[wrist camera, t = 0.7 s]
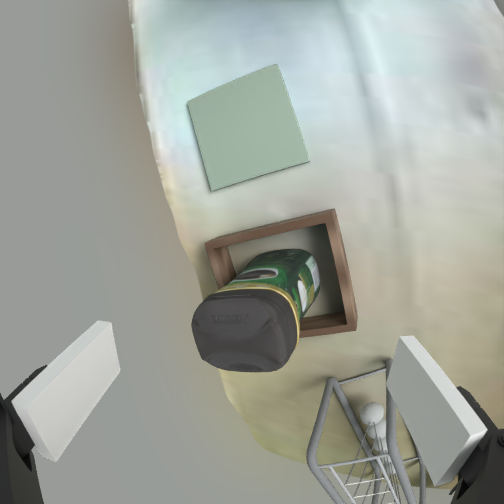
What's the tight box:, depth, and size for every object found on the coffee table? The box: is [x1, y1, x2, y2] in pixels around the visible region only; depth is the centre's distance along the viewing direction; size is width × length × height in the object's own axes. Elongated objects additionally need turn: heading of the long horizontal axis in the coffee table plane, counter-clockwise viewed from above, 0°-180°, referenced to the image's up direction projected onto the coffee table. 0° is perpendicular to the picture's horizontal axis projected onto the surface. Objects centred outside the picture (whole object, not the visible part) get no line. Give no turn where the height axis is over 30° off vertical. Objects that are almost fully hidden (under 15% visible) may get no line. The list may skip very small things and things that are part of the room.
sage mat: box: [187, 64, 310, 191], centre depth 38 cm, size 14×14×1 cm
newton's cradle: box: [306, 359, 426, 504], centre depth 33 cm, size 30×10×18 cm, turn 30°
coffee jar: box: [191, 249, 320, 372], centre depth 33 cm, size 10×8×19 cm
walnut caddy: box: [205, 209, 357, 338], centre depth 39 cm, size 15×17×4 cm
